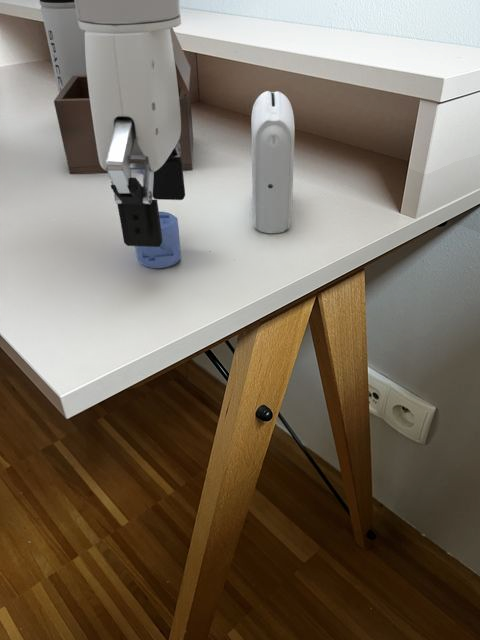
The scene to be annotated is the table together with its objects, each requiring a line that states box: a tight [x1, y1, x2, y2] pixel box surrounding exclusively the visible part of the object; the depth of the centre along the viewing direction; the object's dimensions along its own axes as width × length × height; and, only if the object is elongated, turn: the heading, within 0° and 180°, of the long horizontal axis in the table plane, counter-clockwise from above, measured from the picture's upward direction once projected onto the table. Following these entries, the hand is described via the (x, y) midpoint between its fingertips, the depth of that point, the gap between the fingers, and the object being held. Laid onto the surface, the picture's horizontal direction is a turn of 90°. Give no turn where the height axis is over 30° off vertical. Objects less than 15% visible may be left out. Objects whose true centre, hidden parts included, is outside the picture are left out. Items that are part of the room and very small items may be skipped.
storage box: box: [53, 75, 194, 175], centre depth 74 cm, size 16×13×9 cm
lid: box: [170, 27, 192, 95], centre depth 66 cm, size 16×13×6 cm
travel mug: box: [39, 0, 87, 94], centre depth 80 cm, size 6×7×20 cm
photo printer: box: [250, 90, 296, 234], centre depth 58 cm, size 10×4×12 cm, turn 0°
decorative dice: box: [134, 211, 182, 269], centre depth 53 cm, size 4×4×4 cm
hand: (157, 219), depth 51 cm, fingers open, 9 cm apart
